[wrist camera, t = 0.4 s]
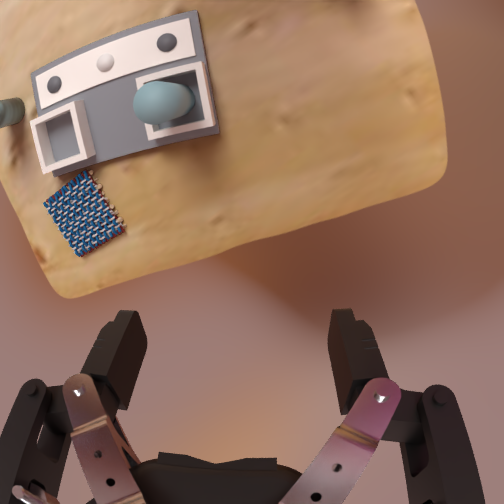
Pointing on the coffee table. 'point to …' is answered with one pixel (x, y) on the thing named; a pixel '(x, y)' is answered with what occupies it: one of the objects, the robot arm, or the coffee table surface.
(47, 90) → the peg board
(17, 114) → the teal peg
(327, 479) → the robot arm
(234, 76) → the coffee table surface
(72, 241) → the woven mat
